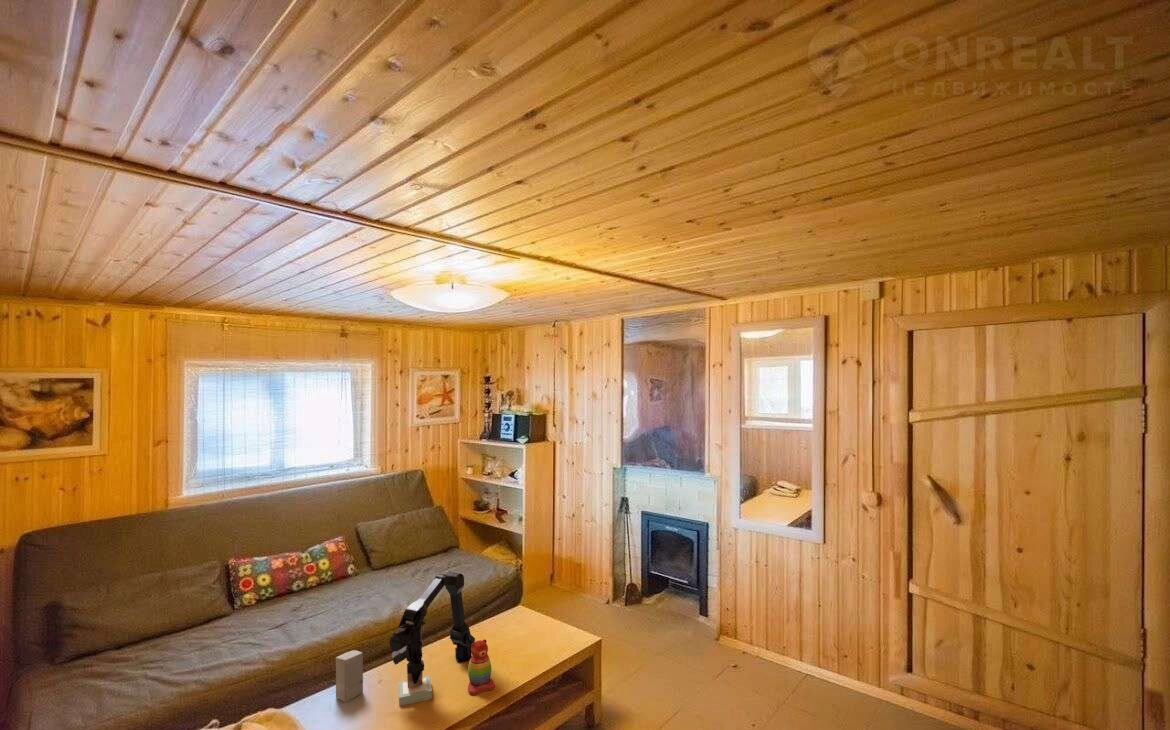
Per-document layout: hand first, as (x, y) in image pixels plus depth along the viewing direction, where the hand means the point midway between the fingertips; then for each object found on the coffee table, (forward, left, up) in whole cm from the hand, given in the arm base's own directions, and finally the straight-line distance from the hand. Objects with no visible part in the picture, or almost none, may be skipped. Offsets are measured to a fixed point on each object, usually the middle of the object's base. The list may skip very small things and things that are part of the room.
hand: (414, 679), depth 209 cm
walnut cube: (0, 0, -1) cm, 1 cm away
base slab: (0, 0, -6) cm, 6 cm away
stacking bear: (-25, +5, -6) cm, 26 cm away
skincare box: (+24, -10, -6) cm, 27 cm away
